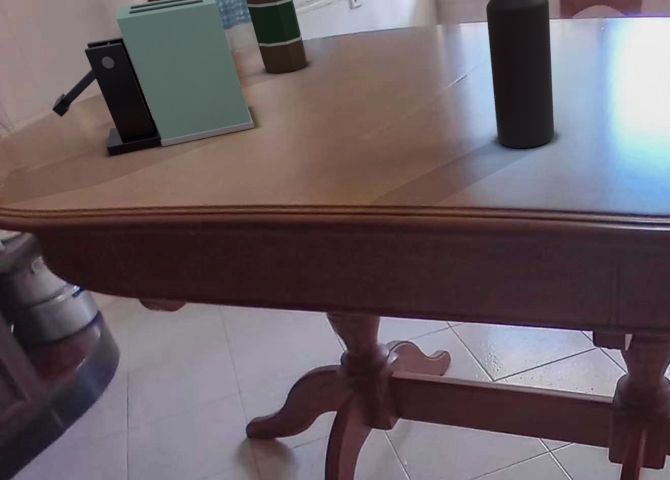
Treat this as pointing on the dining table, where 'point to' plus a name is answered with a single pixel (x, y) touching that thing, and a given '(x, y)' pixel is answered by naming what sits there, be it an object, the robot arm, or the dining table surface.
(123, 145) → the lever bracket
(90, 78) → the toaster lever
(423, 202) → the dining table surface
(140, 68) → the toaster
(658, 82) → the dining table surface
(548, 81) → the vinegar
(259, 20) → the beer bottle
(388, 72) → the dining table surface
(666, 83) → the dining table surface
